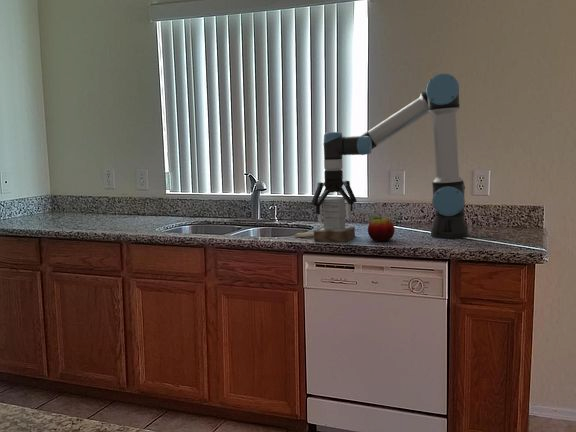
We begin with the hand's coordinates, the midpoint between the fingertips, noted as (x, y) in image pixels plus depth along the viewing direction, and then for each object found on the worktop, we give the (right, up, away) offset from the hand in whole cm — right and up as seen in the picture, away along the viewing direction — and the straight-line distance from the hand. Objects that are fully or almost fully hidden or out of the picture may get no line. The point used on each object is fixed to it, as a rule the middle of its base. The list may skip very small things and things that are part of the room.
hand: (334, 220), depth 231 cm
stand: (0, -8, +1) cm, 8 cm away
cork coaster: (-12, -7, +9) cm, 16 cm away
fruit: (+18, -8, -7) cm, 21 cm away
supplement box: (0, -3, 0) cm, 3 cm away
